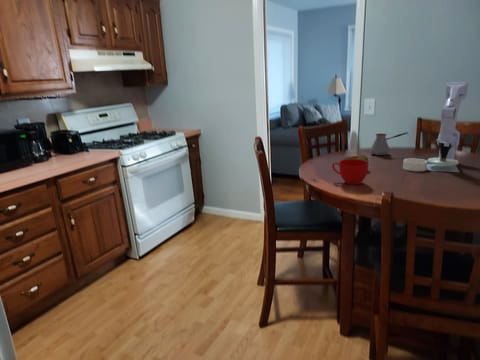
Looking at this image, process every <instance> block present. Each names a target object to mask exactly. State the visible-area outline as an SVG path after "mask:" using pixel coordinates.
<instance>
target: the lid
mask: <svg viewBox="0 0 480 360" xmlns="http://www.w3.org/2000/svg"><path fill="white" fill-rule="evenodd" d="M427 163H428V164H436V165H446V166H450V165H456V166H457V165H459V160H457V159H455V158H454V159H450V158H447V157H446V158H441V154H440V158H439V157H429V158H428V159H427Z"/></svg>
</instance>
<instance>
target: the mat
mask: <svg viewBox="0 0 480 360" xmlns="http://www.w3.org/2000/svg"><path fill="white" fill-rule="evenodd" d="M426 171H433V172H435V171H437V172H453V173H460V170H459V168H458V167H457V165H450V166H446V165H436V164H431V163H427V169H426Z"/></svg>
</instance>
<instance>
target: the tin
mask: <svg viewBox="0 0 480 360" xmlns="http://www.w3.org/2000/svg"><path fill="white" fill-rule="evenodd" d="M348 159H356V160H364V161H367V162H368V163H369V158H368V156H366V155H365V154H356V155H355V154H354V155H348V156H345V157H343V159H342V160H348Z"/></svg>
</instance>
